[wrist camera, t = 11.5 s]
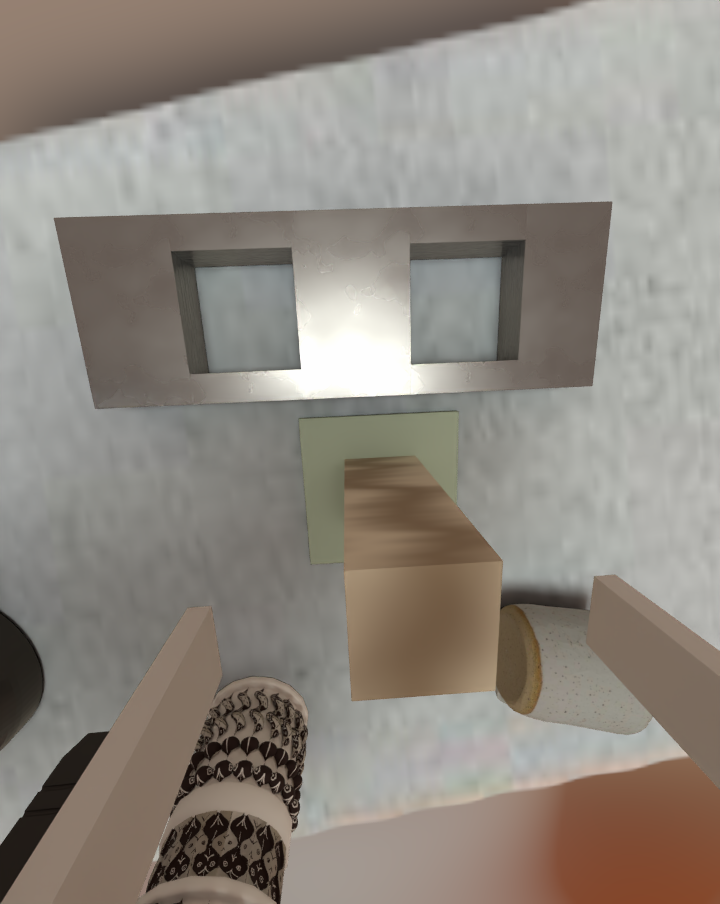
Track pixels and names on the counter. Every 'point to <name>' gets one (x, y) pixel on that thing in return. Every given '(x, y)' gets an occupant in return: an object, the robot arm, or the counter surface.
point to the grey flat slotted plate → (333, 298)
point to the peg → (415, 586)
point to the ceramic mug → (560, 672)
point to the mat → (367, 438)
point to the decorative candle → (236, 801)
